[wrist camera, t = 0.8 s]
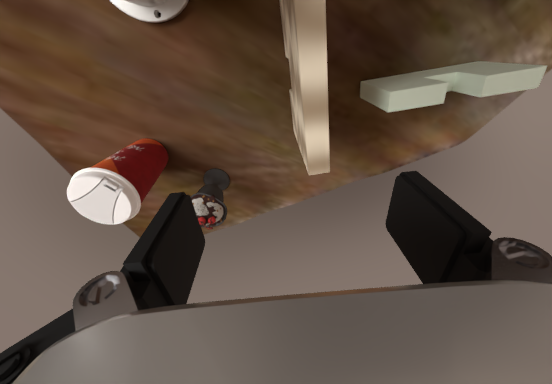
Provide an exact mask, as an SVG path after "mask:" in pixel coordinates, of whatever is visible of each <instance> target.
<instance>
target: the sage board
mask: <svg viewBox="0 0 552 384" xmlns="http://www.w3.org/2000/svg"><path fill="white" fill-rule="evenodd" d="M546 68H547V66H545V65H529V64H514V63H499V62H484V61H477V62H471V63H465V64H459V65H453V66H448V67H442V68H436V69H430V70H424V71H418V72H412V73H407V74H401V75H395V76H389V77H383V78H377V79H371V80H366V81H361V83H360V98H362V99H364V100H365V101H367V102H369V103H371V104H373V105H375V106H377V107H379V108H380V109H382V110H384V111H386V112H394V111H400V110H406V109H412V108H419V107H425V106H431V105H437V104H443V103H444V99H445V95H446V92H448V91H455V92H459V93H463V94H468V95H472V96H476V97H486V96H492V95H498V94H504V93H510V92H517V91H523V90H529V89H534V88H538V86H539V84H540V82H541V80H542V77H543V75H544V73H545V71H546Z"/></svg>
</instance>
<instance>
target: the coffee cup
mask: <svg viewBox="0 0 552 384" xmlns="http://www.w3.org/2000/svg"><path fill="white" fill-rule="evenodd" d="M167 162H168V153H167V151H166V149H165V148H164V146H163V145H162V144H160V143H159V142H157V141H155V140H153V139H148V138H145V139H141V140H138V141H136V142H134V143H132V144H131V145H129V146H127V147H125V148H124V149H122V150H120V151H118V152H117V153H115V154H113V155H111V156H110V157H108V158H106V159H105V160H103V161H101V162H99V163H98V164H96V165H94V166H93V167H91V168H85V169H82V170H80V171H78V172H77V173H75V174H74V175H73V177H72V178H71V181H70V184H69V186H68V188H67V197H68V200H69V201H70V203H71V204H72V206H73V207H74V208H75V209H76V210H77V211H78V212H79V213H80V214H81V215H83V216H84V217H86V218H88V219H90V220H92V221H95V222H98V223H102V224H119V223H122V222H125V221H126V220H129V219H131V218H133V217H134V216H135V215H136V214H137V213H138V212H139V210H140V207H141V203H142V201H143V200H144V198H145V197H146V195H147V194H148V192H149V191H150V189H151V188H152V186H153V185H154V183H155V182H156V180H157V179H158V177H159V176H160V174H161V173H162V171H163V169H164V168H165V166H166V164H167Z"/></svg>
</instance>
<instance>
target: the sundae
mask: <svg viewBox="0 0 552 384" xmlns="http://www.w3.org/2000/svg"><path fill="white" fill-rule="evenodd" d="M229 182H230V180H229V177H228V175H227V174H226V173H225V172H224V171H222V170H220V169H210V170H208V171H207V172H206V173H205V175H204V183H205V185H204V186H203V187H202V188H201V189H200V190H199V191H198V193H196V194H194V195H192V196H191V197H190V198H191V200H192V203H193V206H194V209H195V212H196V215H197V218H198V221H199V223H200V226H201V227H206V228H207V227H209V228H208V230H209V229H213V227H214V226H218V225H220V224H222V223H223V222H224V220H225V219H226V215H227V208H226V206H225V204H224V203H223V192H222V190H224V189H226V188H227V187H228V185H229Z"/></svg>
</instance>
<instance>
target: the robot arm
mask: <svg viewBox="0 0 552 384" xmlns="http://www.w3.org/2000/svg"><path fill="white" fill-rule="evenodd" d="M109 1H110V2H111V3H113V4H114V5H115V6H116V7H117V8H118V9H119V10H121V11H123V12H124V13H126V14H127V15H129V16H131V17H133V18H135V19H138V20H141V21H145V22H151V23H160V22H166V21H168V20H171V19H173V18H175V17H176V16H177V15H179V14H180V13H181V12H182V10H183V9H184V8H185V7H186V5H187V3H188V1H189V0H109ZM159 12H160V13H161V17H159V15H158V14H159ZM386 228H387V230H388V232H389V233H390V235H391V236H392V238H393V239H394V241H395V242H396V244H397V245H398V247H399V248H400V250H401V251H402V253H403V254H404V256H405V257H406V259H407V260H408V262H409V263H410V265H411V266H412V268H413V269H414V271H415V272H416V274H417V275H418V277H419V278H420V280H421V281H422V283H423V284H418V285H405V286H392V287H379V288H366V289H353V290H341V291H330V292H317V293H305V294H293V295H281V296H270V297H258V298H247V299H235V300H224V301H212V302H202V303H193V304H186V303H187V300H188V297H189V294H190V290H191V287H192V284H193V281H194V278H195V275H196V271H197V268H198V265H199V262H200V259H201V256H202V253H203V250H204V246H205V239H204V235H203V232H202V229H201V226H200V223H199V221H198V218H197V215H196V212H195V209H194V206H193V203H192V200H191V198H190V196H189V195H186V194H185V193H184V192H180V193H171V194H170V195H169V196H168V197H167V199H166V200H165V202H164V203H163V205H162V206H161V208H160V209H159V211H158V212H157V214H156V215H155V217H154V218H153V220H152V221H151V223H150V224H149V226H148V227H147V229H146V230H145V232H144V233H143V235H142V236H141V238H140V239H139V240H138V242H137V243H136V245H135V246H134V248H133V249H132V251H131V252H130V254H129V255H128V257H127V258H126V260H125V261H124V263H123V265H124V266H123V268H122V269H121V271H120V272H119V271H110V272H106V273H103V274H101V275H98V276H96V277H95V278H93V279H91V280H90V281H88V282H87V283H86V284H85V285H84V286H82V287H81V289H80V290H79V291H78V292H77V293H76V295H75V297H74V299H73V309H71V310H70V311H68V312H66V313H65V314H63V315H62V316H60V317H58V318H57V319H55V320H53V321H52V322H50V323H49V324H47V325H45V326H44V327H42V328H40V329H39V330H37V331H35V332H34V333H32V334H31V335H29V336H28V337H26V338H24V339H22V340H21V341H19V342H18V343H16V344H14V345H13V346H11V347H9V348H8V349H6V350H5V351H3V352H2V353H0V384H552V256H551V255H550V254H549V253H547V252H546V251H544V250H543V249H541V248H540V247H537V246H535V245H533V244H531V243H529V242H526V241H523V240H519V239H515V238H505V237H504V238H498V239H496V240H495V241H493V240H491V239H490V238H489V236H490V234H491V231H490V230H489V229H487V228H486V227H485V226H484V225H482V224H481V223H480V222H479V221H477V220H476V219H475V218H473V216H471V215H470V214H469V213H468V212H466V211H465V210H464V209H462V208H461V207H460V206H459V205H458V204H457V203H455V202H454V201H453V200H452V199H450V198H449V197H448V196H447V195H445V194H444V193H443V192H442V191H441V190H439V189H438V188H437V187H436V186H434V185H433V184H432V183H431V182H429V181H428V180H427V179H426V178H425V177H423V176H422V175H421V174H420V173H418V172H417V171H410V172H402V173H401V174H400V175H399V176H397V177H396V179H395V184H394V188H393V192H392V197H391V202H390V206H389V210H388V215H387V219H386Z"/></svg>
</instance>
